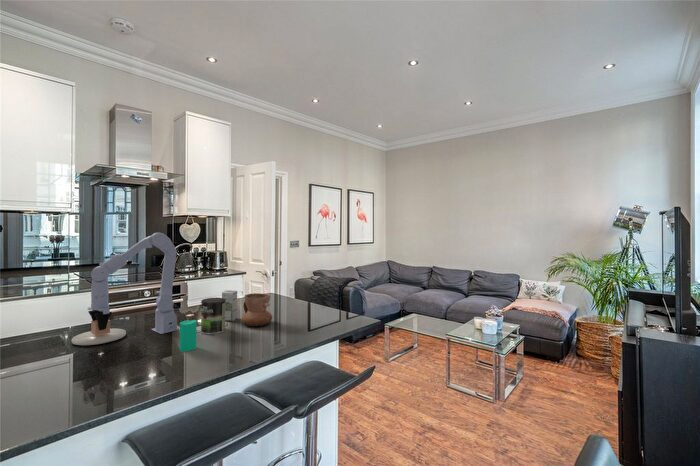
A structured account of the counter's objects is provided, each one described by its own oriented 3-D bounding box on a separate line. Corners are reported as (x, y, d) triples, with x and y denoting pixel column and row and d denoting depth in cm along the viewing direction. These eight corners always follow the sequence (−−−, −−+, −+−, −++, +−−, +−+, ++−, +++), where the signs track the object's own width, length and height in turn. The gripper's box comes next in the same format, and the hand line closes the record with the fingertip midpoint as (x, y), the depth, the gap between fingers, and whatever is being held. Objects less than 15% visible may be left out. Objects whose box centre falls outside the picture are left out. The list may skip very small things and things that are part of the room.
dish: (133, 337, 140) (133, 334, 140) (80, 350, 125) (80, 346, 125) (116, 329, 150) (116, 325, 150) (65, 339, 136) (65, 336, 136)
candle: (200, 347, 131) (200, 316, 131) (188, 352, 125) (188, 320, 125) (188, 344, 133) (188, 315, 132) (175, 350, 127) (175, 319, 127)
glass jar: (213, 336, 144) (213, 303, 144) (195, 332, 148) (195, 301, 147) (230, 329, 153) (230, 298, 153) (213, 326, 157) (213, 296, 157)
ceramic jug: (280, 324, 162) (280, 295, 162) (255, 331, 151) (255, 299, 151) (257, 318, 173) (257, 290, 173) (232, 324, 162) (232, 294, 162)
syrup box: (237, 318, 171) (237, 290, 171) (232, 321, 165) (232, 292, 165) (226, 317, 172) (227, 289, 171) (221, 321, 166) (221, 292, 166)
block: (110, 332, 138) (110, 320, 138) (95, 335, 134) (95, 323, 134) (105, 330, 141) (105, 318, 141) (91, 333, 137) (91, 321, 137)
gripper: (82, 294, 138) (82, 327, 139) (94, 299, 130) (94, 334, 130) (102, 292, 144) (102, 323, 144) (115, 296, 135) (115, 330, 136)
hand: (100, 328), depth 138 cm, fingers closed on block, 5 cm apart
